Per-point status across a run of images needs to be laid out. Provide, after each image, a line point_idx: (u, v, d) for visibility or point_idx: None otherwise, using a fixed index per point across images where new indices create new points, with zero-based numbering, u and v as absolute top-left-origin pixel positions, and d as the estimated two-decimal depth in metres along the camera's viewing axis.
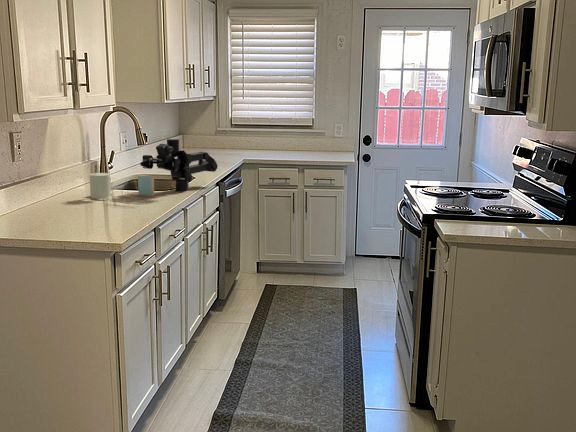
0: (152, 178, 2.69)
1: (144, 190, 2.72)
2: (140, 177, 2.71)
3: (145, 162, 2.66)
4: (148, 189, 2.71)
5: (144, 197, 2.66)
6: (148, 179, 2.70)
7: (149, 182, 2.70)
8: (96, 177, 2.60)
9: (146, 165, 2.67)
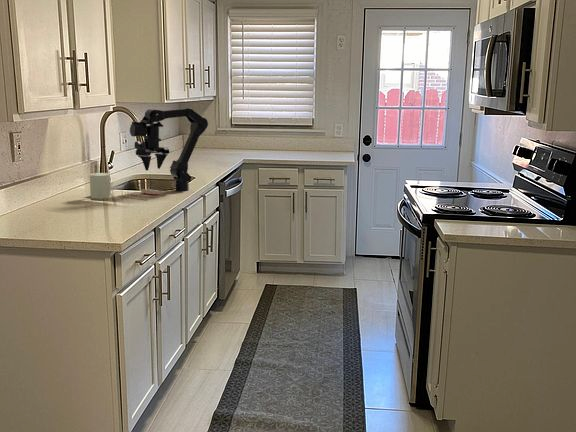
0: (165, 192, 2.80)
1: None
2: None
3: (158, 161, 2.79)
4: (155, 190, 2.76)
5: (144, 197, 2.66)
6: None
7: None
8: (96, 177, 2.60)
9: (160, 159, 2.78)
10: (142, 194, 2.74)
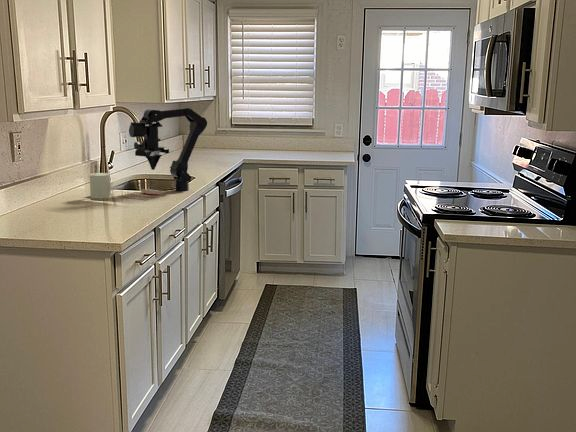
0: (165, 192, 2.80)
1: None
2: None
3: None
4: (155, 190, 2.76)
5: (144, 197, 2.66)
6: None
7: None
8: (96, 177, 2.60)
9: None
10: (142, 194, 2.74)
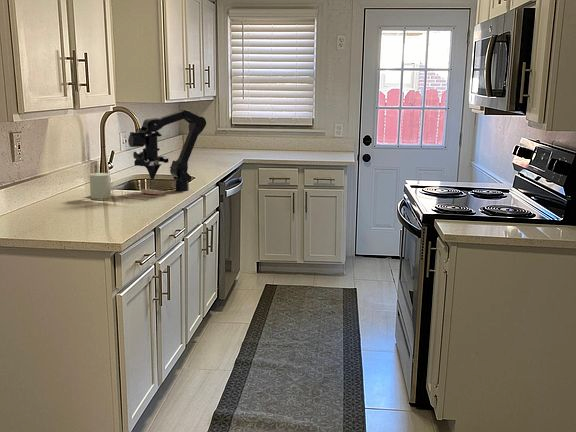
0: (165, 192, 2.80)
1: None
2: None
3: None
4: (155, 190, 2.76)
5: (144, 197, 2.66)
6: None
7: None
8: (96, 177, 2.60)
9: None
10: (142, 194, 2.74)
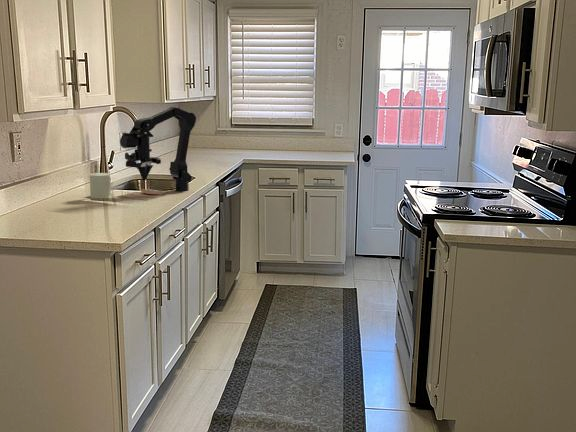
0: (165, 192, 2.80)
1: None
2: None
3: None
4: (155, 190, 2.76)
5: (144, 197, 2.66)
6: None
7: None
8: (96, 177, 2.60)
9: None
10: (142, 194, 2.74)
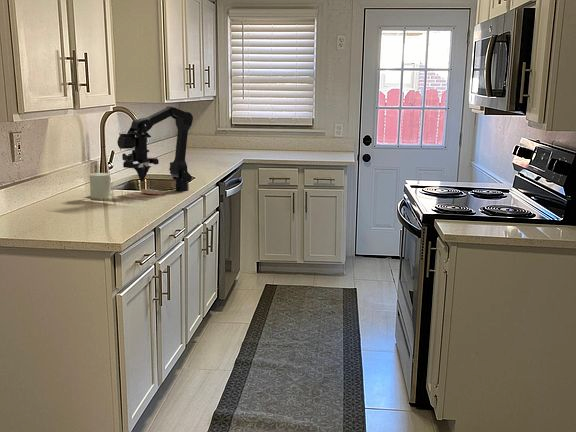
0: (165, 192, 2.80)
1: None
2: None
3: None
4: (155, 190, 2.76)
5: (144, 197, 2.66)
6: None
7: None
8: (96, 177, 2.60)
9: None
10: (142, 194, 2.74)
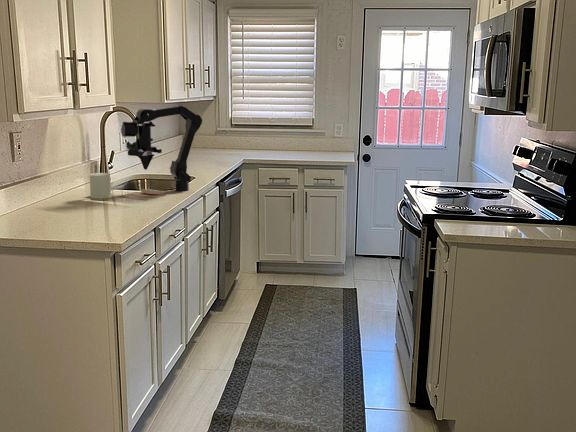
0: (165, 192, 2.80)
1: None
2: None
3: None
4: (155, 190, 2.76)
5: (144, 197, 2.66)
6: None
7: None
8: (96, 177, 2.60)
9: None
10: (142, 194, 2.74)
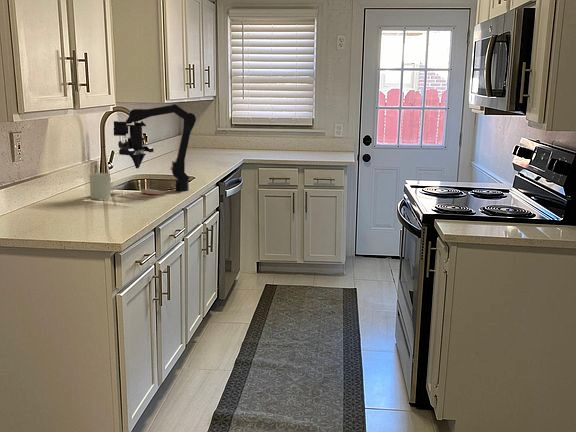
0: (165, 192, 2.80)
1: None
2: None
3: None
4: (155, 190, 2.76)
5: (144, 197, 2.66)
6: None
7: None
8: (96, 177, 2.60)
9: None
10: (142, 194, 2.74)
